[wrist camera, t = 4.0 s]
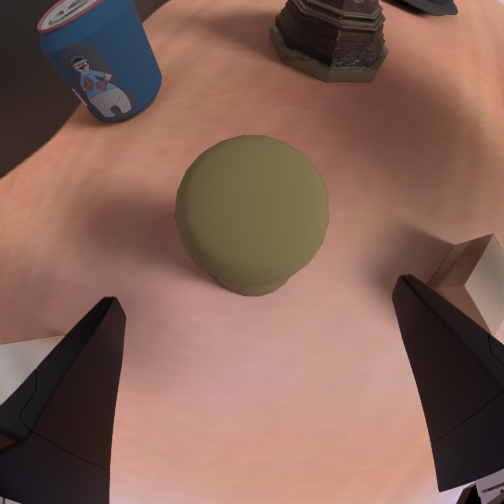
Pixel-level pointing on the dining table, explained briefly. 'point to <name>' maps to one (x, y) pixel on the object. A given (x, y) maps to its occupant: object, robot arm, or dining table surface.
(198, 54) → the dining table surface
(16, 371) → the off-white cylinder
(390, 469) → the dining table surface
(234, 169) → the cork
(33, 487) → the robot arm
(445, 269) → the walnut block
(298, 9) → the bird statue
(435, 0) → the casserole
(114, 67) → the soda can
